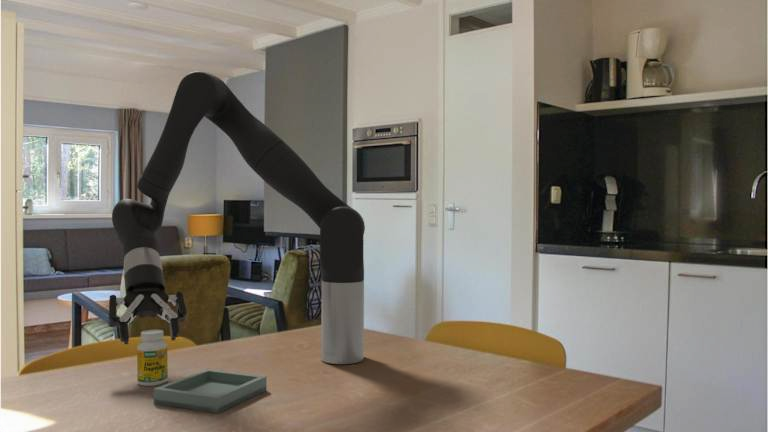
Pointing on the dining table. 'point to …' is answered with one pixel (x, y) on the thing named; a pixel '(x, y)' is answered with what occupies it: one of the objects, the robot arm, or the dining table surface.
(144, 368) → the supplement bottle
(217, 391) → the tray
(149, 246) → the robot arm
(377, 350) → the dining table surface
